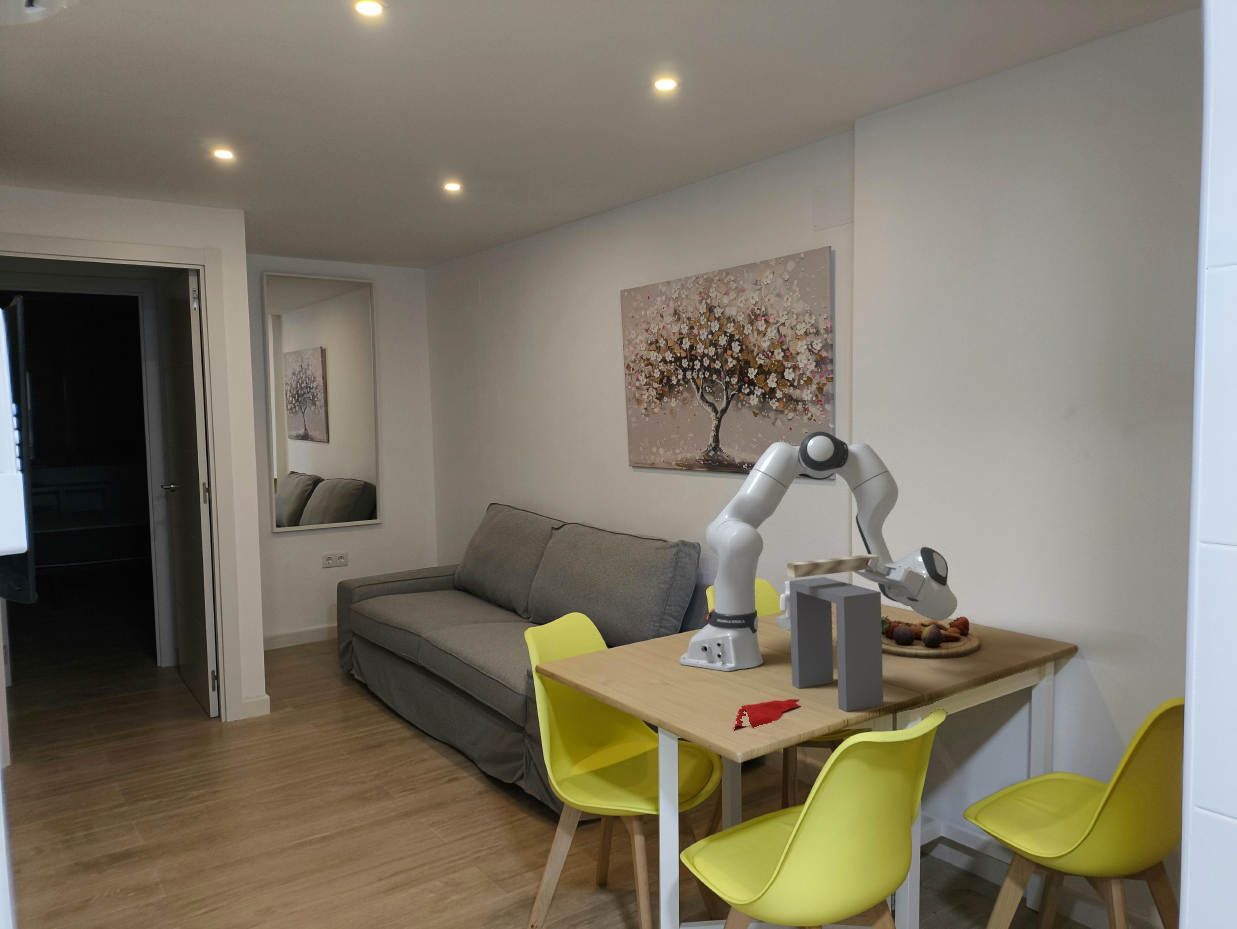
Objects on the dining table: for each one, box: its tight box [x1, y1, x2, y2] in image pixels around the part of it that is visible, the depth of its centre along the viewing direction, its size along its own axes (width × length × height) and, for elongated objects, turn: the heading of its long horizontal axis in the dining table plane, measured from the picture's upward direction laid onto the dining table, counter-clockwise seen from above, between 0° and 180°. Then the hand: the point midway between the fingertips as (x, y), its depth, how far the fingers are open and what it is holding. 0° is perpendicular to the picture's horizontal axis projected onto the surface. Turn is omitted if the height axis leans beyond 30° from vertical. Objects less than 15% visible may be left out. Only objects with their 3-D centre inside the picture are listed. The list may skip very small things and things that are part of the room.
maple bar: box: [786, 554, 879, 579], centre depth 205 cm, size 24×3×3 cm, turn 111°
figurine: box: [774, 580, 791, 631], centre depth 269 cm, size 7×9×15 cm
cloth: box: [732, 698, 802, 730], centre depth 193 cm, size 26×14×2 cm, turn 124°
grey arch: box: [789, 576, 884, 713], centre depth 203 cm, size 10×22×26 cm, turn 21°
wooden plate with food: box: [881, 615, 982, 660], centre depth 246 cm, size 32×32×8 cm
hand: (862, 560), depth 208 cm, fingers closed on maple bar, 3 cm apart
